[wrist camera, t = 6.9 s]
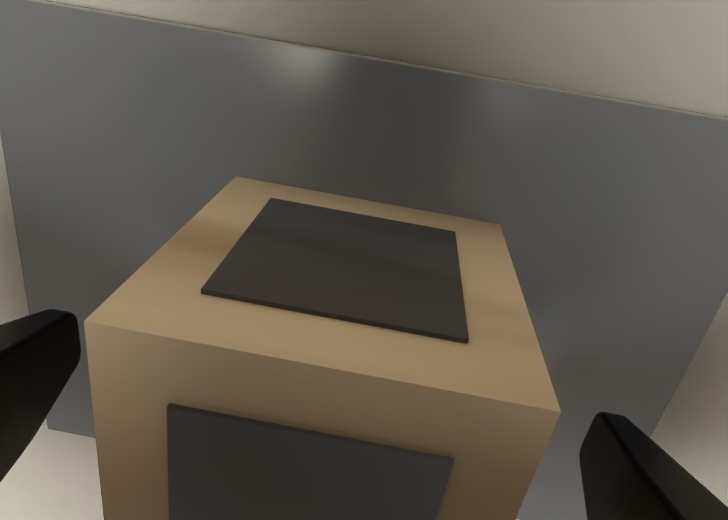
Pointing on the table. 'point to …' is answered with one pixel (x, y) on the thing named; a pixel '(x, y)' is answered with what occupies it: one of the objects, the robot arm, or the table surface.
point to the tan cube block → (319, 367)
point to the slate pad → (371, 189)
